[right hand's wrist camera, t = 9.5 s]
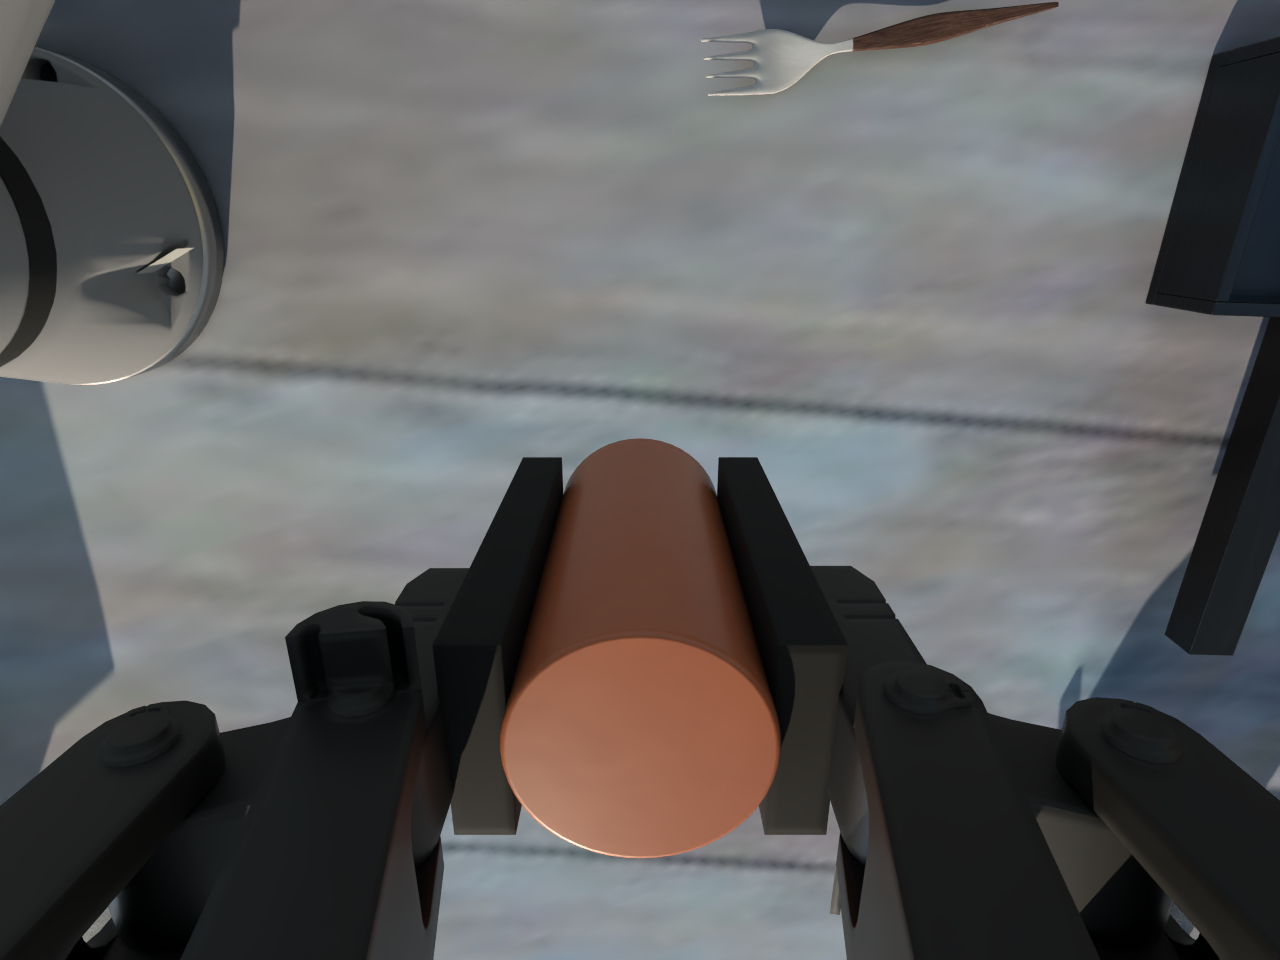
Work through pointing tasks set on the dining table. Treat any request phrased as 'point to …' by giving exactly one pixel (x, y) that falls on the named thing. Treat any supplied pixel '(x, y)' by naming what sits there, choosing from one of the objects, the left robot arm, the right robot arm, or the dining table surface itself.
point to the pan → (1235, 286)
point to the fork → (848, 45)
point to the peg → (640, 666)
